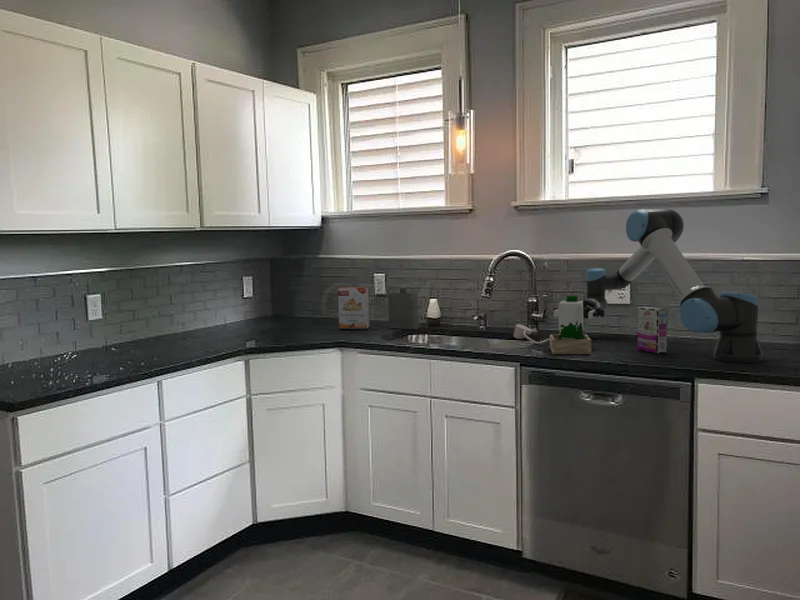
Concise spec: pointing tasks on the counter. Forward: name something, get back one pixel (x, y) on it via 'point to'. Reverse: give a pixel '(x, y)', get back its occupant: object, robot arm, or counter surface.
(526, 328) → the toilet paper hanger
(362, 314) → the cracker box
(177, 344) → the counter surface
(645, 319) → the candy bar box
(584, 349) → the caddy
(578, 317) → the soya milk
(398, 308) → the flask
